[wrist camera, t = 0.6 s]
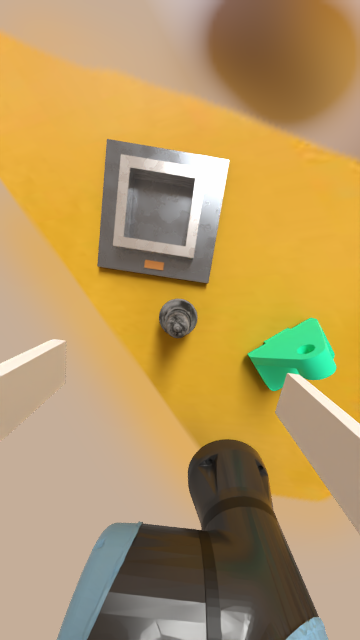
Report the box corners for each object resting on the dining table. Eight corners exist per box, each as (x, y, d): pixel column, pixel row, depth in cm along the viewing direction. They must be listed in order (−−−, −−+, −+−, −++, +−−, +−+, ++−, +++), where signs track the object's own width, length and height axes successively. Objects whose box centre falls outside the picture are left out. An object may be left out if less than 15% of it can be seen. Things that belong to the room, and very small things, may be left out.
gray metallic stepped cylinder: (162, 331, 32) (151, 356, 20) (160, 298, 31) (148, 303, 20) (195, 331, 32) (204, 354, 20) (195, 297, 31) (204, 301, 19)
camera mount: (265, 385, 34) (300, 425, 24) (245, 351, 33) (273, 379, 23) (324, 352, 33) (388, 380, 23) (305, 316, 32) (364, 329, 22)
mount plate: (207, 283, 31) (210, 282, 27) (100, 267, 31) (89, 264, 27) (227, 164, 28) (234, 146, 25) (109, 144, 28) (99, 123, 24)
